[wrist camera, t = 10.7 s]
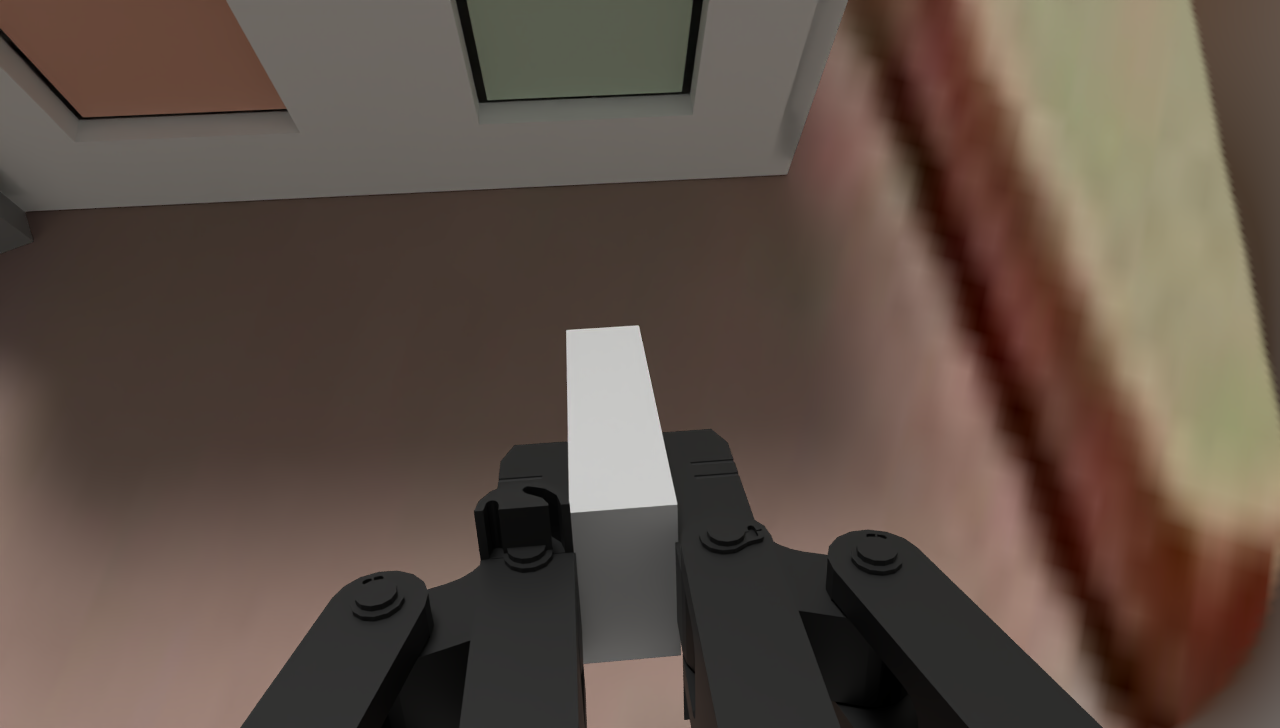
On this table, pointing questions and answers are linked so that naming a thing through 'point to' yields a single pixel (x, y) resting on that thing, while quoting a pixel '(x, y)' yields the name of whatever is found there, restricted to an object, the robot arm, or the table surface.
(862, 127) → the table surface
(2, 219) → the dice cube
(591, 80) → the sage button
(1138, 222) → the table surface
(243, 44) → the terracotta button
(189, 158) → the box
